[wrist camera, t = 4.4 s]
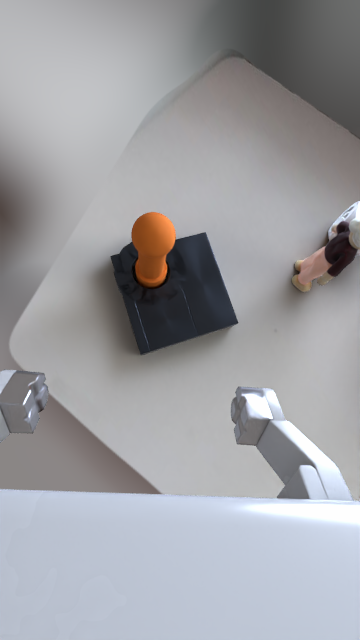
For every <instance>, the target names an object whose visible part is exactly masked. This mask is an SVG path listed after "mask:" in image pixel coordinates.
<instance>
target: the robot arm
mask: <svg viewBox="0 0 360 640" xmlns="http://www.w3.org/2000/svg"><path fill="white" fill-rule="evenodd" d="M45 380H46V378H45V374H44V373H39V372H28V371H16V370H3V371H1V372H0V443H1V442H2V441H3V440H4V439H5V438H6V437H7V436H9V435H10V433H33V432H34V430H35V428H36V425H37V423H38V421H39V419H40V418H39V414H38V413H39V412H41V411H42V410H43V409H44V408H45V406H46V403H47V399H48V386H47V385H45V384H44V382H45ZM235 393H236V397H235V398H233V400H232V403H231V418H232V421H233V422H234V423H235V424H236V426H235V428H234V433H235V437H236V442H237V444H242V445H254V446H256V447H257V449H258V450H259V451H260V453H261V454H262V455H263V457H264V458H265V459H266V460H267V462H268V463H269V464H270V466H271V467H272V468H273V470H274V471H275V472H276V474H277V475H278V476H279V478H280V479H281V480H282V482H283V483H284V484H285V487H284V488H283V489H282V491H281V492H280V493H279V495H278V496H277V498H250V497H221V496H192V495H162V494H133V493H130V494H129V493H103V492H102V493H101V492H71V491H41V490H12V489H0V640H360V501H354V500H353V498H352V495H351V493H350V491H349V489H348V487H347V485H346V483H345V481H344V479H343V477H342V475H341V473H340V471H339V469H338V467H337V465H336V464H334V463H333V462H332V461H331V460H330V459H329V458H328V457H327V456H326V455H325V454H324V453H323V452H322V451H321V450H319V449H318V448H317V447H316V446H315V445H314V444H313V443H312V442H311V441H310V440H309V439H308V438H307V437H305V436H304V435H303V434H302V433H301V432H300V431H299V430H298V429H297V428H296V427H295V426H294V425H293V424H291V423H290V422H289V421H286V420H285V418H284V415H283V413H282V410H281V407H280V405H279V402H278V400H277V397H276V395H275V392H274V390H273V389H267V388H254V387H238V388H237V389H236V392H235Z"/></svg>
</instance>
